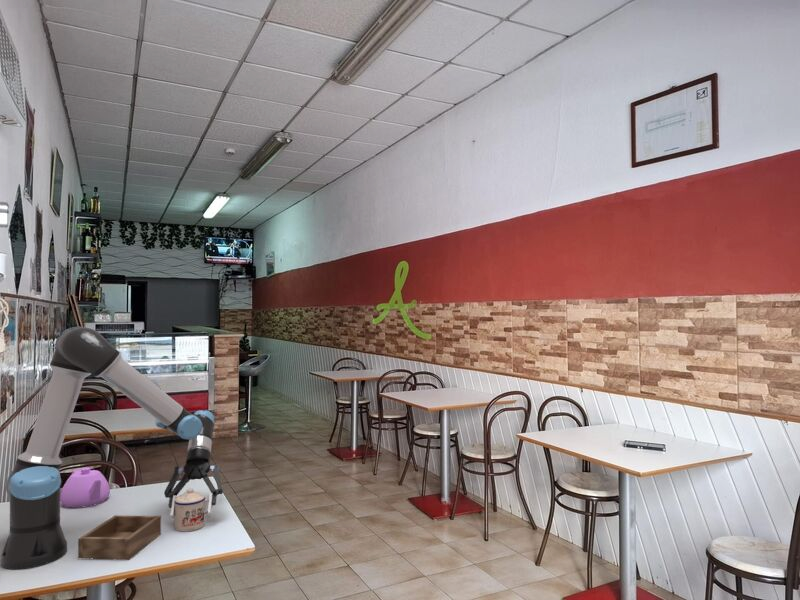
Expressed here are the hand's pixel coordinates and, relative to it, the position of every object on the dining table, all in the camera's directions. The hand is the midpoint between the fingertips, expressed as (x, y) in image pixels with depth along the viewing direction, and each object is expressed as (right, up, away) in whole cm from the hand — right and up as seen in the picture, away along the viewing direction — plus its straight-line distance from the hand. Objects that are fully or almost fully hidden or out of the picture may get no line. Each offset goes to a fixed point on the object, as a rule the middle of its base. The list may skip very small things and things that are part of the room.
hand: (190, 515), depth 170 cm
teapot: (-48, -6, +27) cm, 55 cm away
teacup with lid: (0, -4, +3) cm, 5 cm away
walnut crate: (-15, -4, -12) cm, 20 cm away
